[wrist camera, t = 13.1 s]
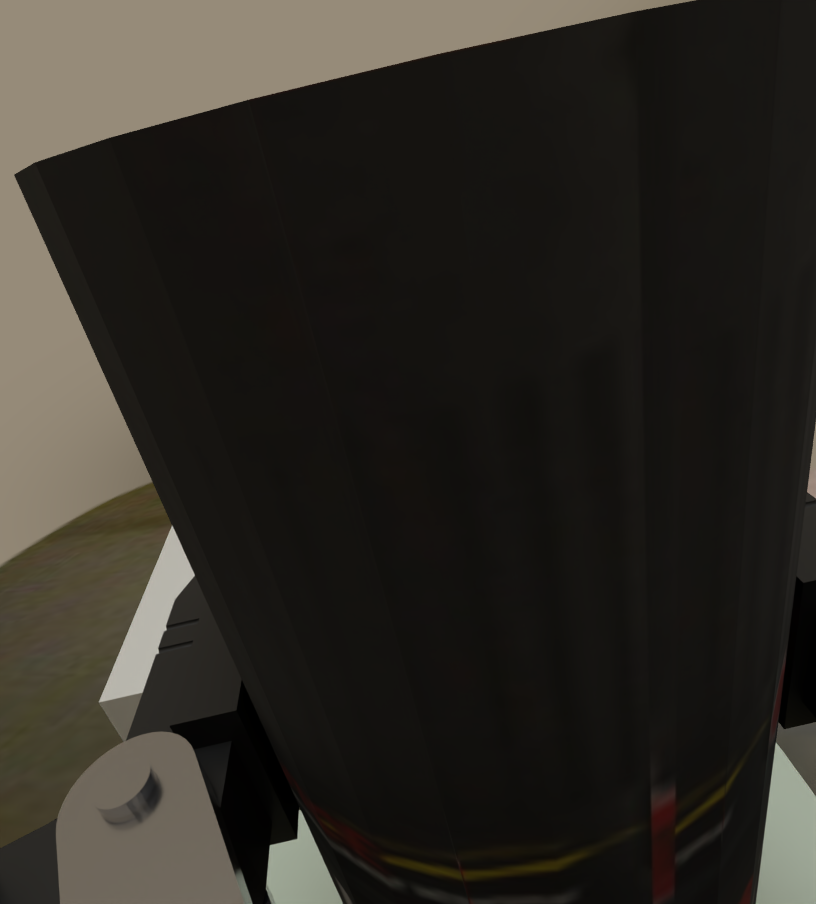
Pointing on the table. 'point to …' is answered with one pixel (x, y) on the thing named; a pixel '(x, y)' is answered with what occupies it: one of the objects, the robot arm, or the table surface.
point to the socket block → (145, 636)
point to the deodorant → (487, 436)
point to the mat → (781, 871)
